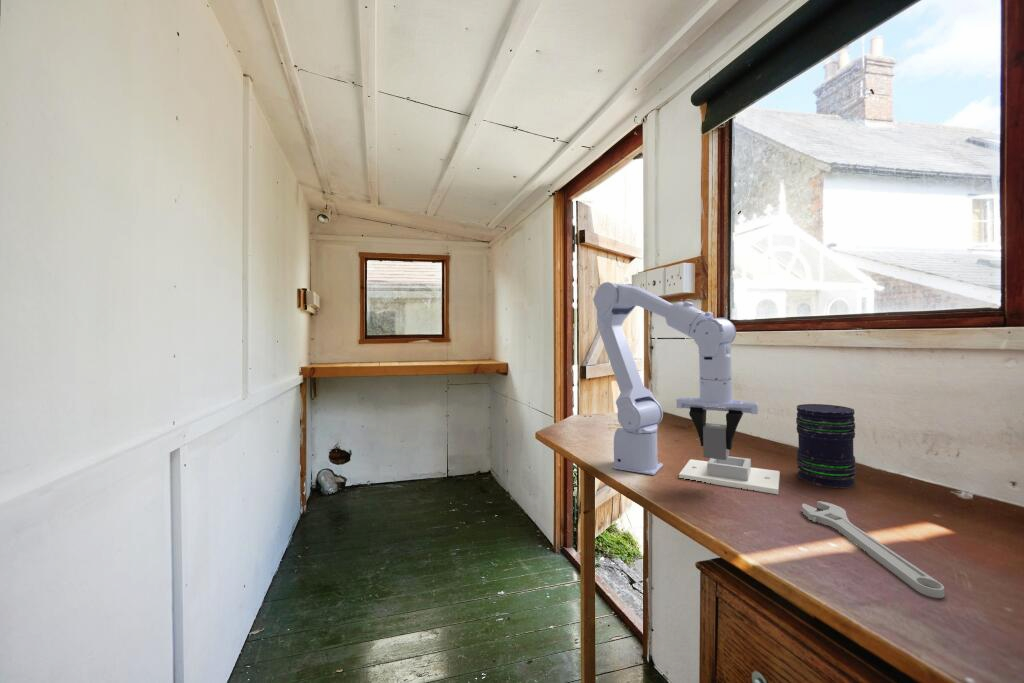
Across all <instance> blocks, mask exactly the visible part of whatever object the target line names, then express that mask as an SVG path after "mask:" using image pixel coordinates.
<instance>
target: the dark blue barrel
mask: <svg viewBox="0 0 1024 683" xmlns="http://www.w3.org/2000/svg"><path fill="white" fill-rule="evenodd" d="M796 411H797V412H796V420H795V421H796V423H795V424H796V428H795V429H796V433H797V434H798V449H797V453H796V465H797V470H798V471H797V477H798V479H800V480H801V479H802V480H801V481H803V480H804V482H806V483H808V482H809V483H808V484H811V483H813V484H812V485H815V484H816V486H820V487H825V488H833V489H835V488H836V489H848V488H853V487H855V486H856V480H855V477H856V474H855V473H857V472H856V471H857V470H856V469H857V466H856V457H855V456H854V439H855V437H856V422H855V416H854V415H855V409H854V408H852V407H847V406H843V405H835V404H822V403H821V404H820V403H817V404H816V403H805V404H798V405H796Z"/></svg>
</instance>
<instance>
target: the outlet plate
mask: <svg viewBox="0 0 1024 683" xmlns="http://www.w3.org/2000/svg"><path fill="white" fill-rule="evenodd" d="M780 476H781V475H780V470H772V469H767V468H759V467H752V462H751V458H748V457H745V458H744V457H737V456H730V455H729V456H728V458H727V459H726V460H720V459H713V458H709V460H708V461H705V460H701V459H700V460H699V459H689V460H688V461H687V463H686V464H685V466H684V467H682V469H681V471H680V472H679V474H678V478H684V479H683V480H685V479H690V480H689V481H691V480H696V481H695V482H697V481H702V482H701V483H704V482H706V483H705V484H710V483H711V484H710V485H717V486H723V487H730V488H737V489H741V488H742V489H743V490H747V489H748V491H753V490H754V491H756V492H760V493H766V494H772V495H779V491H780V490H779V488H780Z"/></svg>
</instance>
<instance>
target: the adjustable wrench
mask: <svg viewBox="0 0 1024 683" xmlns="http://www.w3.org/2000/svg"><path fill="white" fill-rule="evenodd" d="M817 508H820V509H822V510H823V511H822V510H820V509H819V511H818V509H817ZM802 512H803V513H802ZM801 513H802V515H803V514H804V515H806V516H807V517H808V518H807V520H808V519H810V520H812V521H813V522H812V521H811V522H812V523H816V522H820V523H823V524H826V525H829V526H831V527H833V528H835V529H837V530H838V531H839V532H838V531H837V532H838V533H840V532H841V533H842V534H843V535H844V536H843V535H842V534H841V533H840V534H841V535H842V536H843V537H845V536H846V537H847V538H848V540H849V541H850V542H851V541H852V542H851V543H852V544H854V543H855V544H857V545H858V546H859V547H861V548H862V549H863V550H864V552H865V551H866V552H867V553H868V554H867V553H866V552H865V553H866V554H867V555H868V556H869V557H871V558H872V559H873V560H875V561H876V562H878V563H879V564H880V565H882V566H884V568H886V569H887V570H889V571H890V572H891V573H892V574H894V575H895V576H897V577H898V578H899V579H900V580H901V581H903V582H904V583H905V584H907V585H909V587H911V588H913V590H915V591H917V592H919V593H920V594H922V595H924V596H926V597H931V598H935V599H942V598H944V597H945V586H944V585H943V584H942V583H941V582H940V581H938V580H937V579H935V578H933V577H932V576H930V575H929V574H927V573H926V572H924V571H923V570H922V569H920V568H919V567H918V566H916V565H914V564H913V563H911V562H910V561H908V560H907V559H906V558H903V557H902V556H901V555H899V554H898V553H897V552H895V551H893V550H892V549H891V548H889V547H887V546H886V545H884V544H882V543H881V542H880V541H878V540H877V539H875V538H874V537H873V536H871V535H870V534H868V533H866V532H865V531H863V530H862V529H860V528H859V527H857V526H856V525H854V524H853V523H852V522H851V521H850V520H849V517H848V516H847V512H846V509H844V508H843V507H841V506H839V505H836V504H834V503H830V502H827V501H820V500H819V501H816V507H814V506H811V505H809V504H807V503H802V505H801ZM804 515H803V516H804ZM820 523H819V524H820ZM823 524H822V525H823ZM826 525H825V526H826ZM831 527H830V528H831ZM833 528H832V529H833ZM835 529H834V530H835ZM846 537H845V538H846ZM847 538H846V539H847ZM855 544H854V545H855ZM857 545H856V546H857ZM858 546H857V547H858ZM859 547H858V548H859ZM861 548H860V549H861ZM862 549H861V550H862ZM863 550H862V551H863Z"/></svg>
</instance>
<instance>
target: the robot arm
mask: <svg viewBox="0 0 1024 683" xmlns="http://www.w3.org/2000/svg"><path fill="white" fill-rule="evenodd" d="M592 300H593V303H594V306H595V308H596V322H597V323H596V325H597V329H598V331H599V335H600V338H601V340H602V343H603V345H604V349H605V352H606V354H607V358H608V360H609V363H610V366H611V369H612V371H613V374H614V378H615V380H616V383H617V386H618V390H619V392H620V393H619V395H618V397H617V398H616V401H615V406H616V407H617V421H618V423H619V424H620V426H621V427H618V428H616V430H615V432H614V435H613V466H612V468H613V469H615V470H621V471H627V472H632V473H640V474H645V475H650V476H651V475H652V476H654V475H655V474H657V472H659V471H660V469H662V467H663V465H664V463H662V462H658V429H659V424H660V423H661V421H662V420H663V416H664V410H663V408H662V405H661V404H660V403H659V402H658V400H656V398H655V396H654V394H653V392H652V391H651V390H650V389H648V388H647V387H645V385H644V384H643V381H642V377H641V375H640V372H639V369H638V368H637V365H636V361H635V359H634V356H633V353H632V351H631V348H630V345H629V343H628V340H627V337H626V335H625V331H624V329H623V323H624V321H625V320H626V319H627V317H629V315H630V314H631V313H632V311H633V310H634V309H635V308H636V307H640V308H641V309H645V310H647V311H649V312H652V313H654V314H656V315H659V316H660V317H663V318H664V319H665V321H666V322H665V323H666V325H667V326H668V327H670V328H672V329H673V330H676V331H678V332H680V333H682V334H683V335H686V336H688V337H689V338H692V339H693V340H694V343H695V344H696V345H697V347H698V354H699V357H698V358H699V359H698V360H699V363H698V364H699V397H678V398H676V400H675V402H676V409H689V413H688V415H689V417H690V419H691V421H692V423H693V424H694V426H695V428H696V431H697V434H698V438H699V442H700V447H703V426H704V425H705V424H706V423H707V411H717V412H726V414H725V422H726V425H727V443H726V444H727V449H729V451H731V450H732V449H733V442H734V437H735V433H736V431H737V427H738V426H739V423H740V421H741V419H742V417H743V416H744V414H745V413H746V414H751V415H758V414H759V402H753V401H752V402H751V401H743V400H734V399H732V398H733V397H732V384H733V383H732V343H733V342H734V341H735V339H736V337H737V336H736V335H737V328H736V326H735V325H734V323H733V322H732V321H731V320H729V319H728V318H726V317H716V318H714V313H713V312H711V311H703V310H700V309H698V308H696V307H694V306H693V305H694V303H693V302H691V301H684V302H683V301H678V302H676V303H671V302H669V301H667V300H665V299H663V298H662V297H660V296H658V295H656V294H654V293H652V292H650V291H648V290H646V289H644V288H643V287H642V286H637V285H634V284H631V283H626V284H624V283H615V282H614V283H613V282H608V281H606V282H603V283H601V284H600V285H599V286H598V287H597V289H596V292H595V293H594V296H593V298H592Z"/></svg>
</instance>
